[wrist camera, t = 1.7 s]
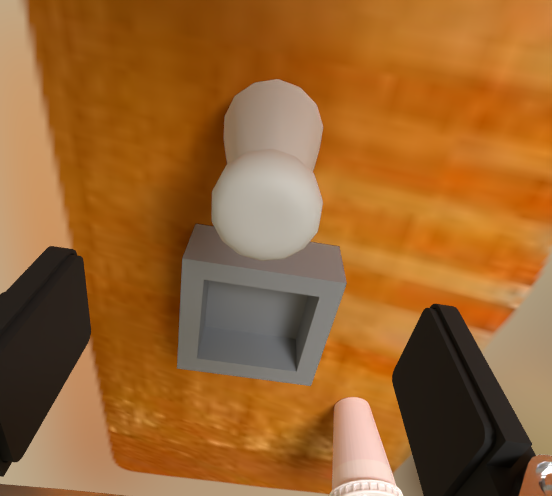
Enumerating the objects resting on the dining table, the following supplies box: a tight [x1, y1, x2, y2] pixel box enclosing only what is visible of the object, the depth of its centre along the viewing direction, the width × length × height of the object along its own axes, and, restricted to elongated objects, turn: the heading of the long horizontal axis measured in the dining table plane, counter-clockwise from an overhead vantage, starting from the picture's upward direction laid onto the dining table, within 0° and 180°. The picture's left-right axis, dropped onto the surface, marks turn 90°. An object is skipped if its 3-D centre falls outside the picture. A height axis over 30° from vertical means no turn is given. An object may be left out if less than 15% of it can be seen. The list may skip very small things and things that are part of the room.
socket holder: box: [177, 224, 347, 386], centre depth 31 cm, size 11×11×4 cm
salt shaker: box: [212, 79, 323, 261], centre depth 20 cm, size 6×6×13 cm
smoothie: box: [329, 397, 403, 496], centre depth 36 cm, size 6×6×14 cm
